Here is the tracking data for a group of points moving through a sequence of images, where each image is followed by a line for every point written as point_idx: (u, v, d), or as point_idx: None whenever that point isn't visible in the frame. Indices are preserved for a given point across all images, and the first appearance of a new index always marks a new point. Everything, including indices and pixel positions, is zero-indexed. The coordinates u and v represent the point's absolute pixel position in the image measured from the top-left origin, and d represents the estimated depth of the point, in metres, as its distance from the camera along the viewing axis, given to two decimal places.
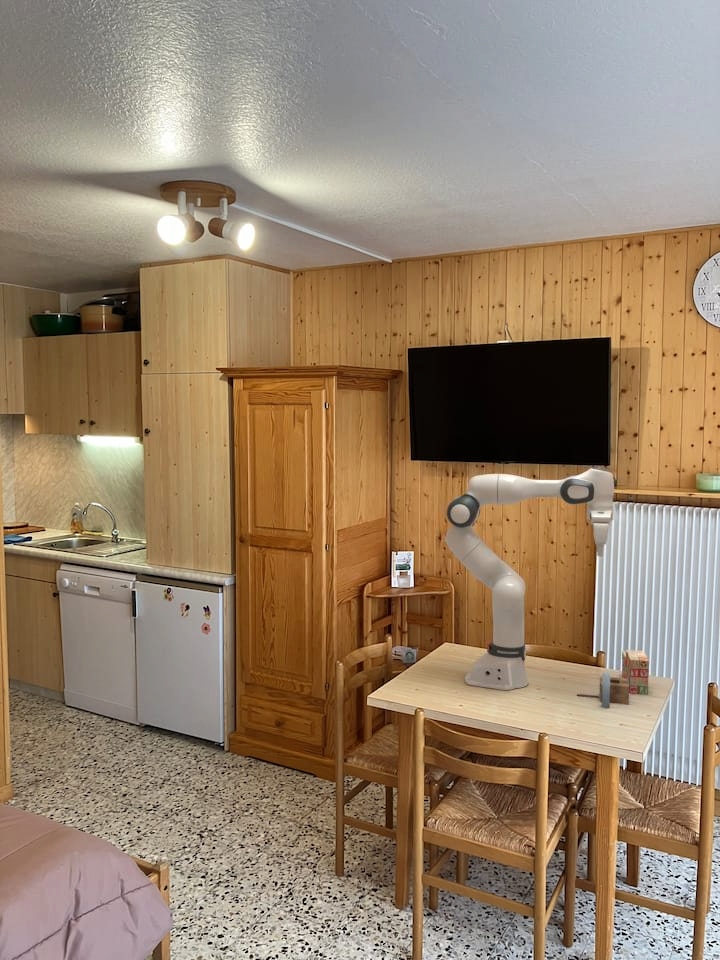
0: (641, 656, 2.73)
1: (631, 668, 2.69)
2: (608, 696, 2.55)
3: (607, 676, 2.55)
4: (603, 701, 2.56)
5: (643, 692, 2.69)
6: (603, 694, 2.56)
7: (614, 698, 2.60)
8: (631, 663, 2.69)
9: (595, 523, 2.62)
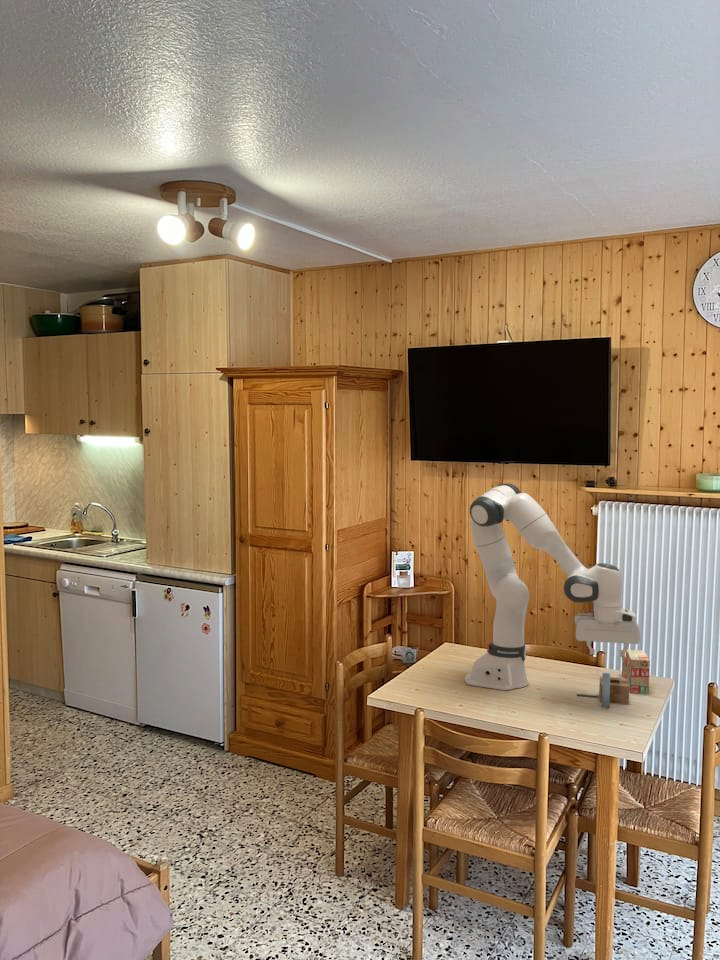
0: (641, 655, 2.73)
1: (632, 668, 2.70)
2: (608, 696, 2.55)
3: (607, 676, 2.55)
4: (603, 701, 2.56)
5: (644, 692, 2.69)
6: (603, 694, 2.56)
7: (614, 698, 2.60)
8: (632, 663, 2.70)
9: (635, 622, 2.51)
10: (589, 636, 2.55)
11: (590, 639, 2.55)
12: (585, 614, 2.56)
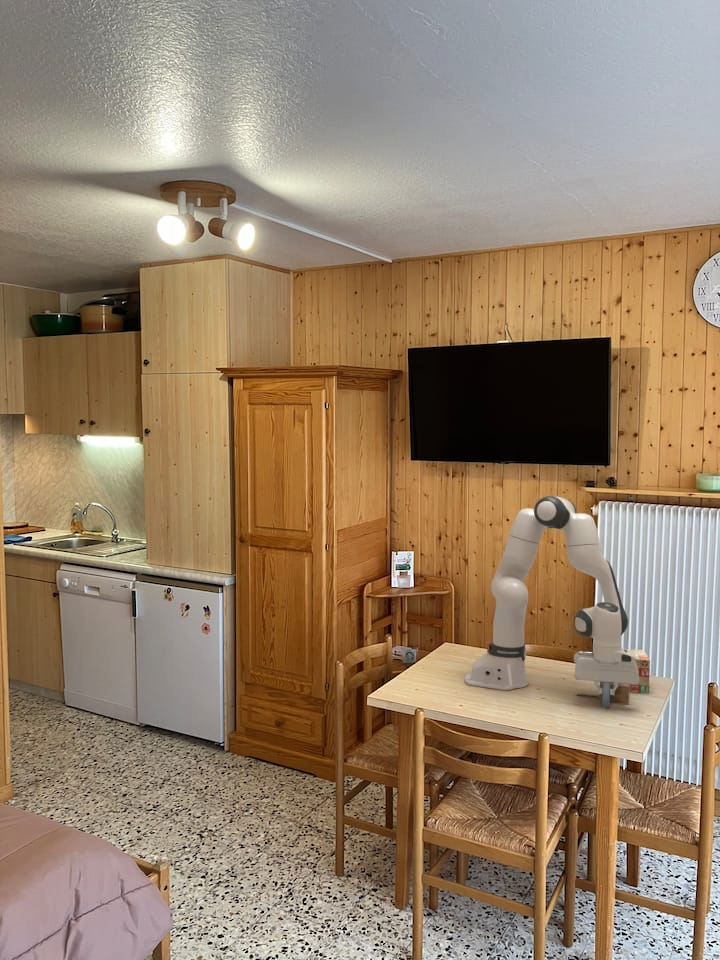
0: (642, 655, 2.74)
1: None
2: (608, 696, 2.55)
3: None
4: (603, 701, 2.56)
5: (644, 691, 2.70)
6: (603, 694, 2.56)
7: (614, 698, 2.60)
8: None
9: (634, 663, 2.52)
10: (588, 675, 2.56)
11: (589, 678, 2.56)
12: (584, 653, 2.57)
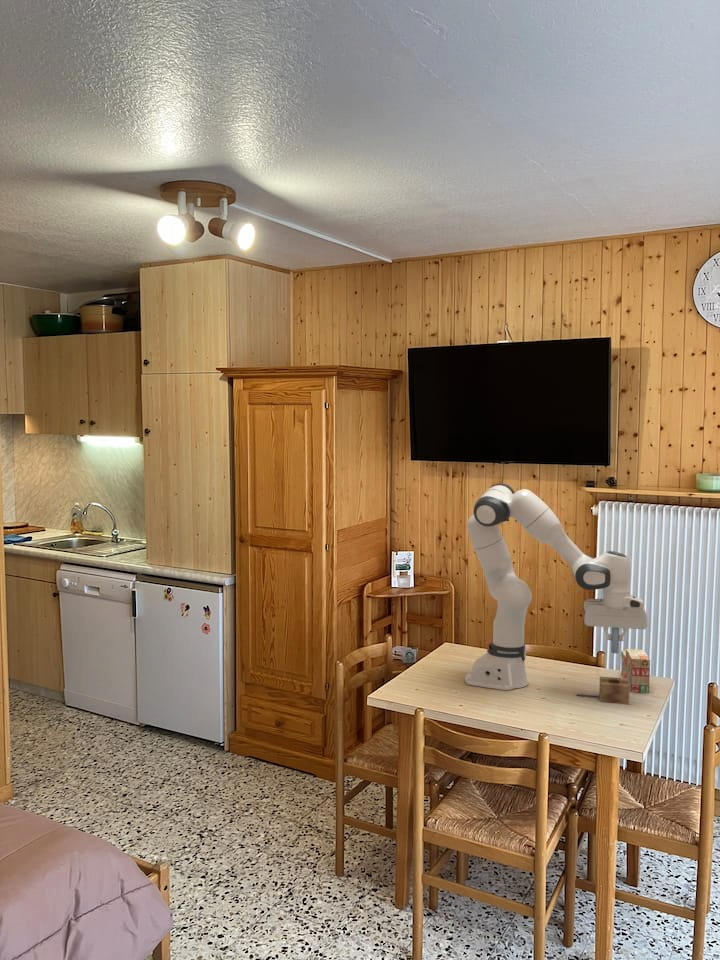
0: (642, 655, 2.74)
1: (632, 667, 2.70)
2: (617, 642, 2.62)
3: None
4: (612, 647, 2.63)
5: (644, 691, 2.70)
6: (612, 640, 2.63)
7: (614, 698, 2.60)
8: (632, 662, 2.70)
9: (643, 608, 2.59)
10: (598, 621, 2.63)
11: (599, 624, 2.63)
12: (594, 600, 2.64)
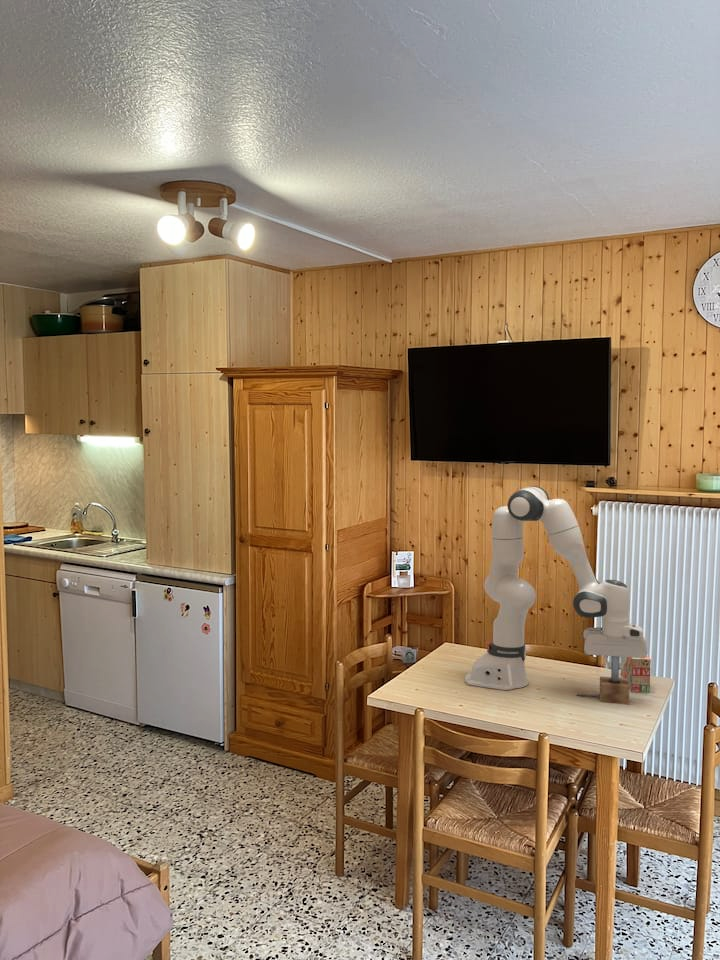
0: None
1: (633, 667, 2.71)
2: (617, 670, 2.63)
3: None
4: (612, 675, 2.63)
5: (645, 691, 2.71)
6: (612, 668, 2.63)
7: (614, 698, 2.60)
8: (633, 662, 2.71)
9: (642, 637, 2.59)
10: (598, 650, 2.63)
11: (598, 653, 2.63)
12: (594, 629, 2.64)
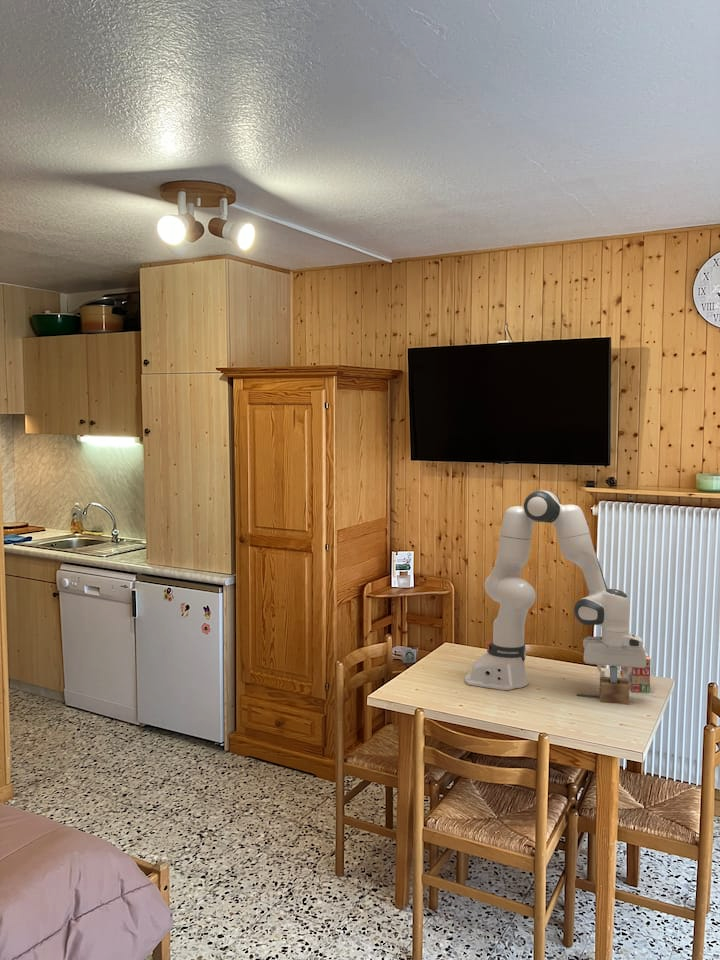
0: None
1: (633, 667, 2.71)
2: None
3: (614, 669, 2.63)
4: None
5: (645, 690, 2.71)
6: None
7: (614, 698, 2.60)
8: None
9: (642, 647, 2.59)
10: (597, 659, 2.63)
11: (598, 662, 2.63)
12: (593, 638, 2.65)
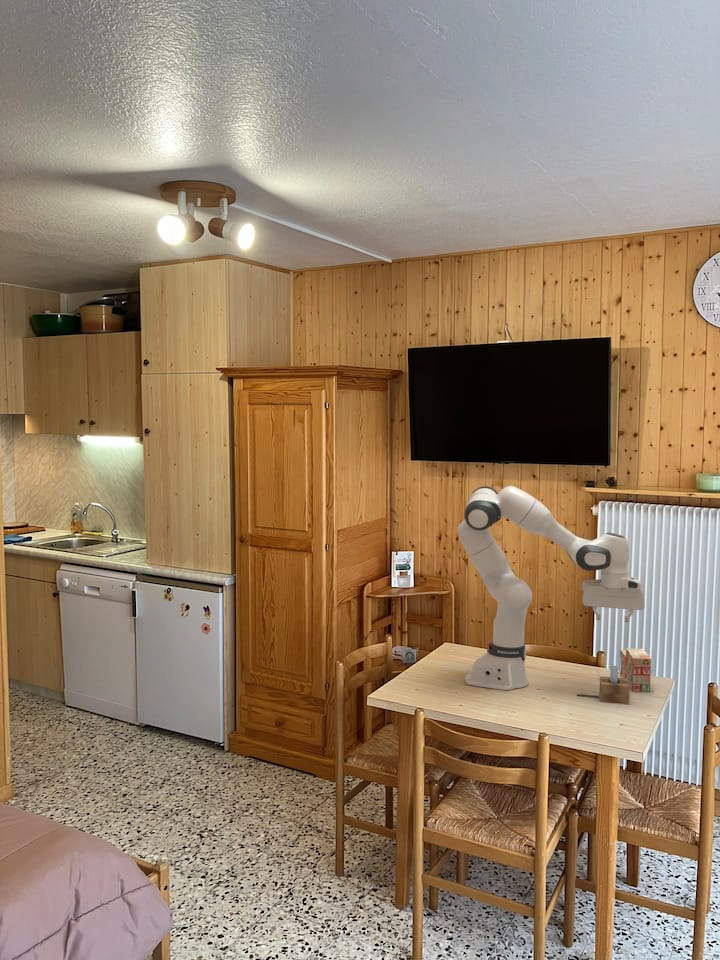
0: (642, 654, 2.75)
1: (634, 666, 2.71)
2: None
3: (615, 669, 2.63)
4: None
5: (645, 690, 2.71)
6: None
7: (614, 698, 2.60)
8: (634, 661, 2.71)
9: (640, 590, 2.62)
10: (596, 601, 2.66)
11: (596, 604, 2.66)
12: (592, 581, 2.68)
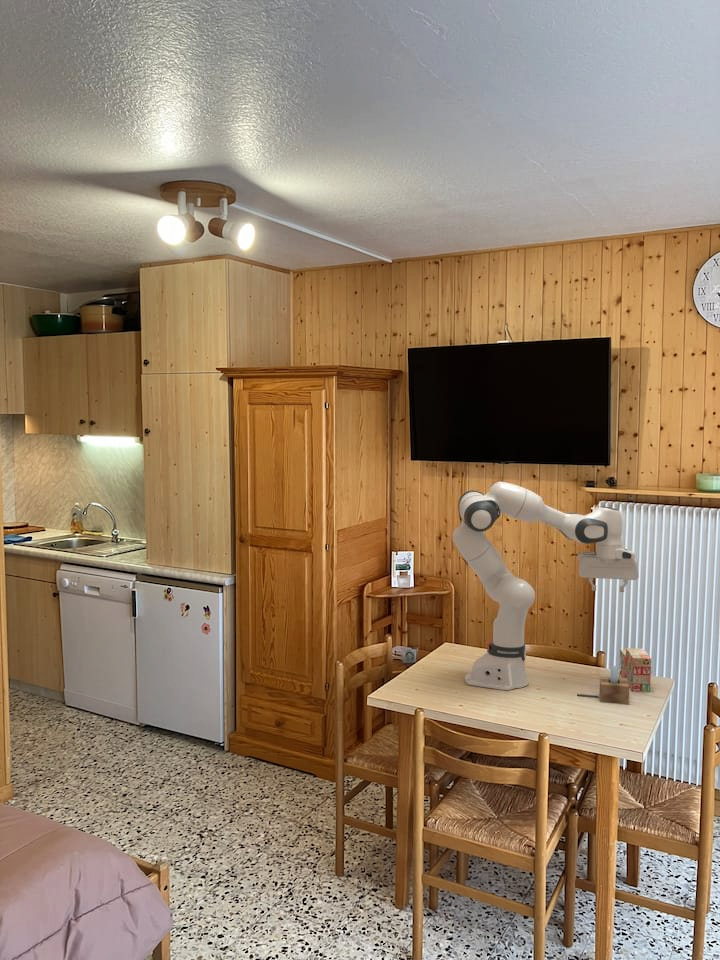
0: (642, 654, 2.75)
1: (634, 666, 2.72)
2: None
3: (615, 669, 2.63)
4: None
5: (646, 690, 2.72)
6: None
7: (614, 698, 2.60)
8: (634, 661, 2.72)
9: (634, 560, 2.72)
10: (591, 573, 2.76)
11: (592, 576, 2.76)
12: (588, 553, 2.77)
